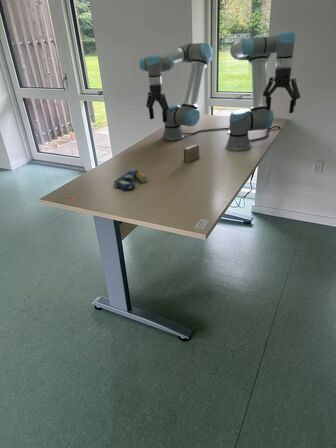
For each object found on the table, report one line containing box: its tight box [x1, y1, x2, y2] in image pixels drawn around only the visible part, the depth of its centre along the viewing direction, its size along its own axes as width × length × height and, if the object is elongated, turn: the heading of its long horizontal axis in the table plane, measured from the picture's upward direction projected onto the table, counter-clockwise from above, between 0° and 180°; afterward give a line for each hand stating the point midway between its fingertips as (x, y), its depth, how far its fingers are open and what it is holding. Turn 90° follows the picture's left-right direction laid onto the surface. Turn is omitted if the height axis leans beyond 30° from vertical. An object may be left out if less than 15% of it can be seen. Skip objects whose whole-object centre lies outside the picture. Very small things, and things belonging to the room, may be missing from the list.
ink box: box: [183, 144, 200, 163], centre depth 205 cm, size 10×4×8 cm, turn 131°
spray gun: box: [112, 168, 148, 191], centre depth 183 cm, size 21×4×15 cm
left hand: (158, 120), depth 210 cm, fingers open, 13 cm apart
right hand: (279, 111), depth 176 cm, fingers open, 13 cm apart
